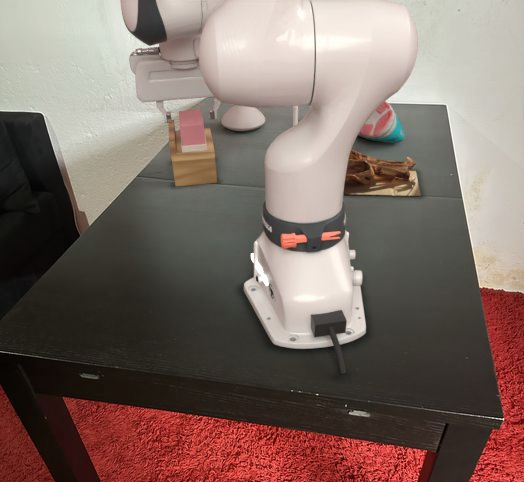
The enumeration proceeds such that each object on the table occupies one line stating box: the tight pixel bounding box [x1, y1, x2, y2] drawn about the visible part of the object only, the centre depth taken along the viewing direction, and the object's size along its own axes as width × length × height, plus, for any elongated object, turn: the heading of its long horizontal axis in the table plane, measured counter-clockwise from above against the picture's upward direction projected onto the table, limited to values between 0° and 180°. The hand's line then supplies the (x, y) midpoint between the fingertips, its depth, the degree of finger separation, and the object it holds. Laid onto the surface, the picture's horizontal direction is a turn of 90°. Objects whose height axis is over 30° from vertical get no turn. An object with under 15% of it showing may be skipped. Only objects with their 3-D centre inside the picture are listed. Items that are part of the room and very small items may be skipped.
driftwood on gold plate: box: [343, 148, 422, 197], centre depth 110 cm, size 14×7×28 cm
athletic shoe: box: [357, 100, 406, 144], centre depth 130 cm, size 27×9×12 cm
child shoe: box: [178, 108, 207, 152], centre depth 111 cm, size 12×5×5 cm, turn 8°
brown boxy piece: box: [167, 119, 218, 187], centre depth 114 cm, size 13×9×9 cm
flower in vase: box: [220, 104, 266, 132], centre depth 129 cm, size 13×11×25 cm
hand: (191, 120), depth 109 cm, fingers open, 8 cm apart
